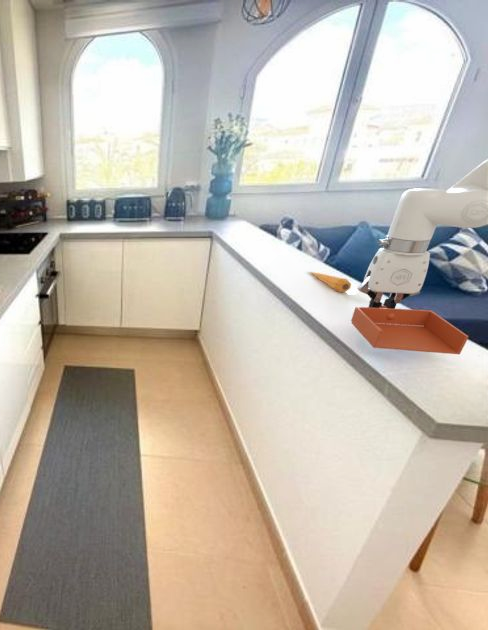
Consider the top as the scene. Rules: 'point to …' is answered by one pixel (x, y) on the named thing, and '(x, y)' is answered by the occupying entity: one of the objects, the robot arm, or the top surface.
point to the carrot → (334, 282)
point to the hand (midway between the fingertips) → (378, 314)
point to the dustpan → (408, 330)
